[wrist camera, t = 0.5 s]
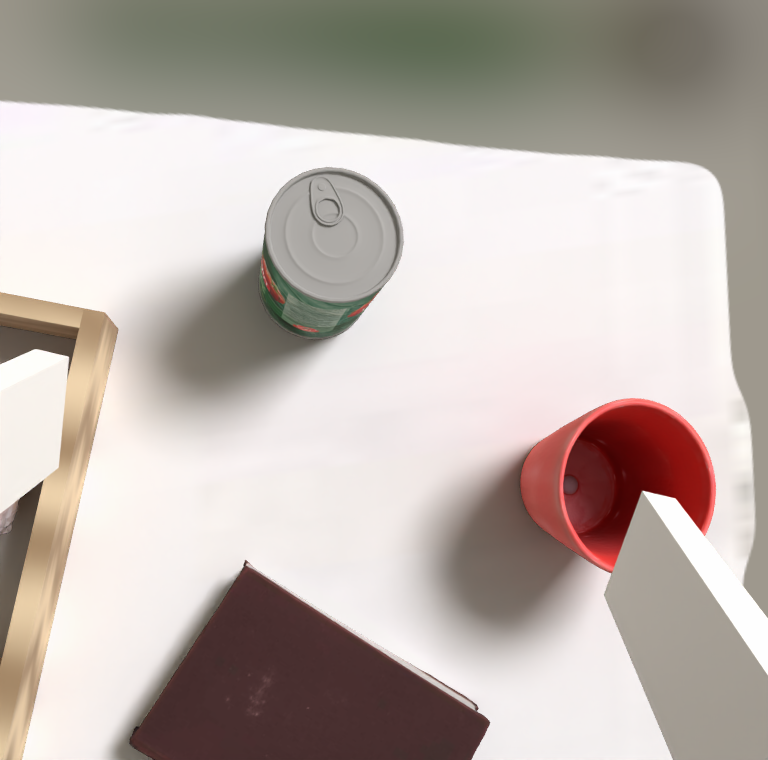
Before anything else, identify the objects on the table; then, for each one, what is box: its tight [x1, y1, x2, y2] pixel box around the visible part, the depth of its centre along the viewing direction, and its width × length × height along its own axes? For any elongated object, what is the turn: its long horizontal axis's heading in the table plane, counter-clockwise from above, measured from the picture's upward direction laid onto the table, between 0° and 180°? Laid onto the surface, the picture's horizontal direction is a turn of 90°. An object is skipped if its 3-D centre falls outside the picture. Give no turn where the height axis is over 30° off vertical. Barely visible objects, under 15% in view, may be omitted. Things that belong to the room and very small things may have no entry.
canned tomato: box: [259, 167, 404, 339], centre depth 44 cm, size 8×8×11 cm
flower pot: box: [520, 398, 716, 573], centre depth 47 cm, size 11×11×10 cm
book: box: [129, 560, 490, 760], centre depth 45 cm, size 12×19×3 cm, turn 57°
